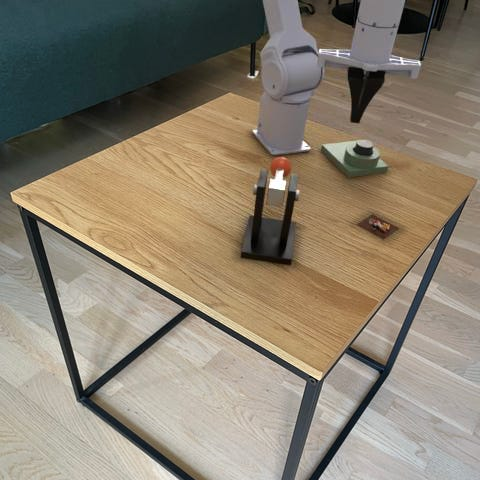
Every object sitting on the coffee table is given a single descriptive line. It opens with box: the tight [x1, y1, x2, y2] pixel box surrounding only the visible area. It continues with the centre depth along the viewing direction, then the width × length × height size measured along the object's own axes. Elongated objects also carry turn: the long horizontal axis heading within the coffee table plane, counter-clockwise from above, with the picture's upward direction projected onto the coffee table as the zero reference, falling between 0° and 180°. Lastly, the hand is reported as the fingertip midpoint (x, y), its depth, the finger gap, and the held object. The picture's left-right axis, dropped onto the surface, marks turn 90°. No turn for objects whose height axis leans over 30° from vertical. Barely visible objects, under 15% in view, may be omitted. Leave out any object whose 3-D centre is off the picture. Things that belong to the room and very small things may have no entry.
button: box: [354, 139, 375, 156], centre depth 86 cm, size 3×3×2 cm
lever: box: [265, 156, 292, 208], centre depth 68 cm, size 11×3×3 cm, turn 172°
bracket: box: [240, 169, 301, 266], centre depth 67 cm, size 9×7×10 cm
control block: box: [320, 140, 389, 178], centre depth 89 cm, size 10×8×3 cm
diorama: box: [356, 213, 401, 241], centre depth 75 cm, size 3×4×2 cm
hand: (354, 120), depth 77 cm, fingers closed
